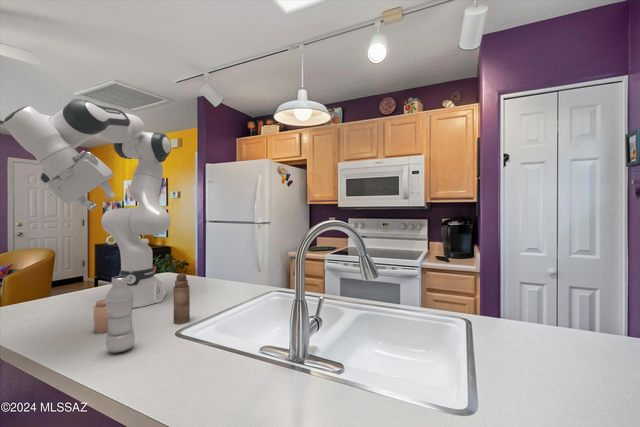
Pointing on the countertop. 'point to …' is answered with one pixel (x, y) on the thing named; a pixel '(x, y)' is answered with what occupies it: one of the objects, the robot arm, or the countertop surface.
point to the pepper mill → (181, 299)
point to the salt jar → (100, 317)
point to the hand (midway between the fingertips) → (102, 203)
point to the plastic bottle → (119, 316)
